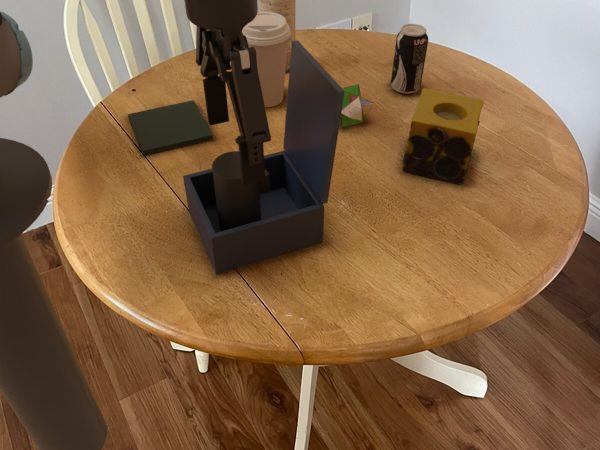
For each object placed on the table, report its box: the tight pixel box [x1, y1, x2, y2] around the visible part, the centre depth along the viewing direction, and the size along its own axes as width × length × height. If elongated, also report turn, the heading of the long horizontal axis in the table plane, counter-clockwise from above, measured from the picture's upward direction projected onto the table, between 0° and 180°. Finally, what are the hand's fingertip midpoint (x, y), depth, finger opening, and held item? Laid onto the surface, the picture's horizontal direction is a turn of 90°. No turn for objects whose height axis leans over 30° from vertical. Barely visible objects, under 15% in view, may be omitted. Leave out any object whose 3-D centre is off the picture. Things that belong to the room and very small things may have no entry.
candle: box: [401, 87, 485, 185], centre depth 93 cm, size 10×10×10 cm
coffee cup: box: [242, 11, 291, 109], centre depth 105 cm, size 10×10×15 cm
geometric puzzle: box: [340, 83, 374, 128], centre depth 102 cm, size 7×7×8 cm
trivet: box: [127, 100, 214, 157], centre depth 102 cm, size 12×12×1 cm
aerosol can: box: [258, 0, 297, 73], centre depth 112 cm, size 7×7×20 cm
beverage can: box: [390, 23, 429, 95], centre depth 108 cm, size 6×6×12 cm
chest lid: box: [282, 39, 345, 205], centre depth 76 cm, size 16×14×1 cm
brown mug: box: [211, 150, 270, 232], centre depth 80 cm, size 7×6×11 cm
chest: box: [182, 150, 325, 275], centre depth 82 cm, size 16×14×7 cm
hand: (235, 150), depth 74 cm, fingers open, 13 cm apart
